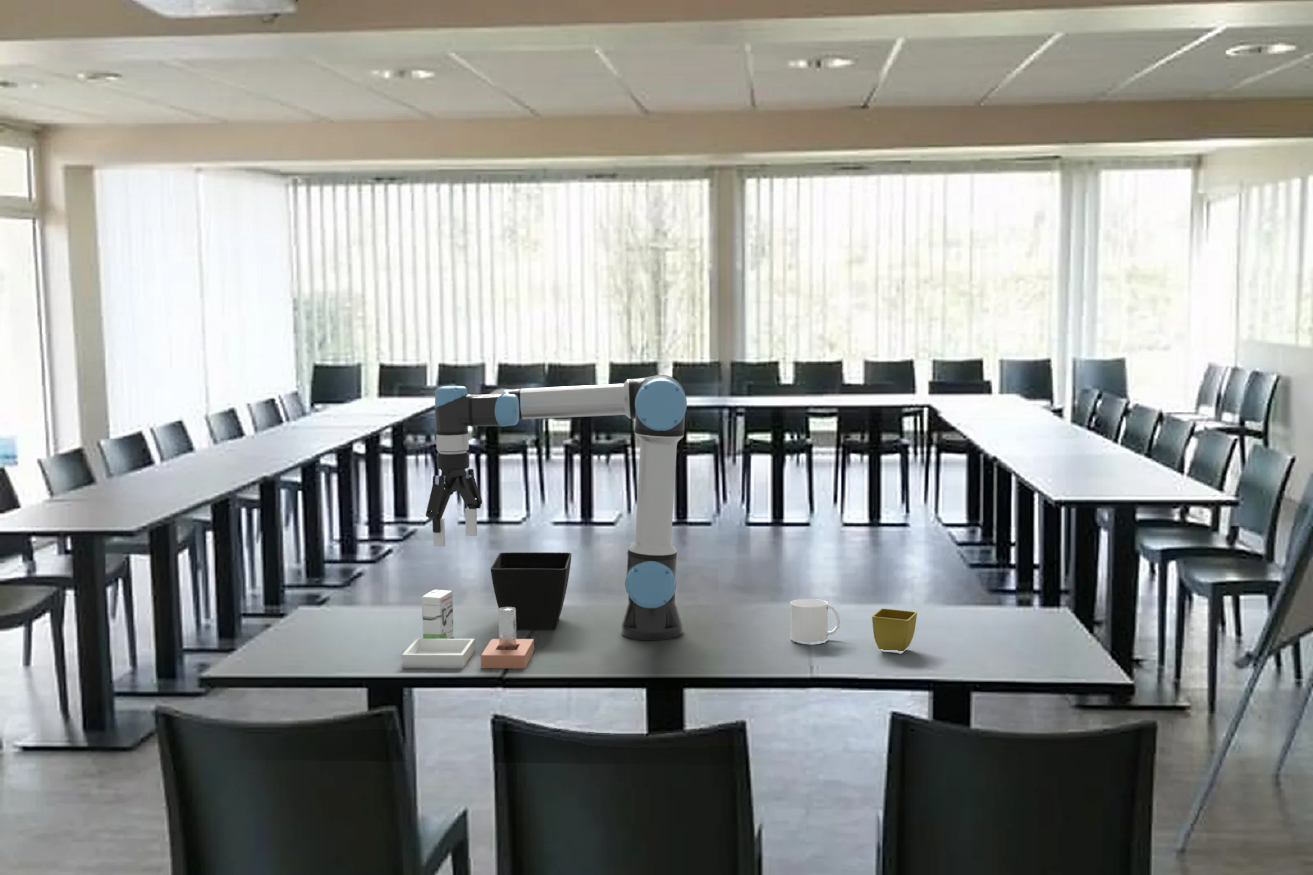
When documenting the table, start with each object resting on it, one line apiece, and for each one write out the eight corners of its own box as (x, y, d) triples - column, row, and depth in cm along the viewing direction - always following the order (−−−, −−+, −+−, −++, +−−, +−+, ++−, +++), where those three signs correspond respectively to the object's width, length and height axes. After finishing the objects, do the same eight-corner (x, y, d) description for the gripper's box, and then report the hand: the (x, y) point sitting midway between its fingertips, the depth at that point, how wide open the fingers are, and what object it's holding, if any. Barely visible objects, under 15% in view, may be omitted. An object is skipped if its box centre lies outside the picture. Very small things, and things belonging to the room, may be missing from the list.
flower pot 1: (567, 633, 335) (566, 567, 333) (491, 634, 335) (489, 567, 334) (572, 614, 354) (571, 552, 352) (501, 615, 354) (499, 552, 352)
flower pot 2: (917, 648, 319) (917, 611, 318) (908, 658, 311) (908, 620, 310) (881, 644, 323) (881, 607, 321) (870, 653, 315) (871, 616, 314)
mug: (790, 645, 323) (790, 607, 322) (790, 635, 332) (790, 598, 331) (840, 646, 322) (841, 607, 321) (839, 636, 331) (839, 599, 330)
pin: (518, 657, 314) (517, 607, 313) (515, 662, 310) (514, 611, 309) (501, 657, 315) (499, 606, 313) (498, 662, 311) (496, 611, 309)
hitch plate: (534, 651, 319) (533, 639, 319) (524, 668, 305) (524, 655, 305) (492, 651, 320) (491, 638, 319) (481, 668, 306) (480, 655, 306)
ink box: (441, 645, 325) (440, 597, 324) (422, 644, 326) (420, 596, 325) (454, 636, 334) (453, 589, 332) (435, 635, 335) (434, 588, 333)
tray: (475, 651, 320) (474, 638, 319) (463, 668, 306) (462, 655, 305) (416, 651, 320) (416, 638, 320) (402, 668, 306) (402, 654, 306)
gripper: (468, 445, 329) (471, 530, 332) (408, 457, 307) (411, 549, 309) (494, 446, 326) (497, 532, 329) (435, 459, 304) (439, 551, 306)
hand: (455, 540), depth 319 cm, fingers open, 13 cm apart
